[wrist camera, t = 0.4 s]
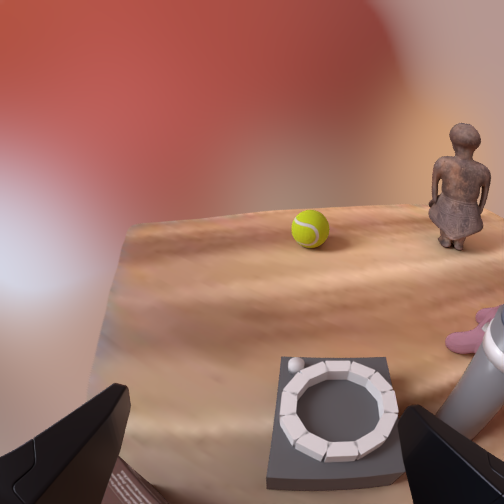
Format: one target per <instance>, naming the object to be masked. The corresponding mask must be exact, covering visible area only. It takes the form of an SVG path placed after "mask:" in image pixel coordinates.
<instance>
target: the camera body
mask: <svg viewBox="0 0 504 504" xmlns="http://www.w3.org/2000/svg"><path fill="white" fill-rule="evenodd" d="M397 423H398V406H397V401H396V396H395V391H393V387H392V383H391V379H390V374H389V369H388V365H387V361H386V357H373V358H305V357H281V365H280V375H279V384H278V393H277V401H276V410H275V418H274V426H273V434H272V441H271V449H270V456H269V463H268V470H267V477H266V482H267V489H276V490H299V491H325V490H347V489H360V488H370V487H379V486H386V485H391V484H392V483H393V482H394V481H395V480H396V479H398V478H399V477H400V476H401V475H402V474H403V473H404V472H406V471H405V467H404V463H403V458H402V452H401V446H400V440H399V435H398V429H397Z"/></svg>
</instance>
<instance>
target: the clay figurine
mask: <svg viewBox="0 0 504 504" xmlns="http://www.w3.org/2000/svg"><path fill="white" fill-rule="evenodd" d="M449 135H450V140H451V142H452V145H453V149H454V151H455V156H454V157H452V156H451V157H450V156H444V157H441V158H439V159H438V160H437V161H436V162H435V164H434V168H433V176H432V198H433V199H432V200H431V201H430V202H429V207H430V209H429V217H430V219H431V220H432V222H433V223H434V224H435V225H436V226H437V227H438V228H440V234H441V236H440V237H439V238H438V240H439V242H440V243H441V245H442V246H444V247H449V246H451V242H452V243H453V244H454V247H455V249H458V250H462V249H463V243H464V241H465V238H466V237H467V236H470V235H472V234H475V233H477V232H479V231H481V230H482V229H483V222H482V219H481V216H480V214H481V213H482V211H483V208H484V205H485V203H486V199H487V196H488V191H489V186H490V181H491V175H490V171H489V170H488V168H487V167H486V166H484V165H483V164H481V163H479V162H476V161H474V160H473V159H472V156H473V152H474V151H475V149H477V148H478V147H479V145H480V143H481V138H480V135H479V133H478V131H477V130H476V129H475V128H474V127H473V126H472V125H470V124H464V123H459V124H456V125H455V126H454V127H453V128H452V129H451V131H450V134H449ZM440 179H442V193H441V194H440V195H438V182H439V180H440ZM481 186H482V193H481V200H480V204H479V206H478V204H477V199H478V197H479V193H480V187H481Z"/></svg>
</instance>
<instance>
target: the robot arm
mask: <svg viewBox="0 0 504 504" xmlns="http://www.w3.org/2000/svg"><path fill="white" fill-rule="evenodd" d="M130 408H131V403H130V396H129V389H128V387H127V386H126V385H122V384H118V383H114V384H112V385H111V386H109V387H108V388H106V389H105V390H103V391H102V392H101V393H99V394H98V395H96V396H95V397H93V398H92V399H90V400H89V401H88V402H86V403H85V404H83V405H82V406H80V407H79V408H77V409H76V410H75V411H73V412H71V413H70V414H69V415H67V416H66V417H64V418H63V419H61V420H60V421H58V422H57V423H55V424H54V425H52V426H51V427H49V428H48V429H46V430H45V431H43V432H42V433H40V434H39V435H37V436H36V437H34V440H33V439H31V440H29V441H28V442H26V443H25V444H23V445H21V446H20V447H18V448H17V449H15V450H13V451H11V452H9V453H7V454H5V455H4V456H1V457H0V504H101V503H102V500H103V497H104V494H105V491H106V488H107V485H108V483H109V480H110V477H111V474H112V472H113V469H114V466H115V464H116V461H117V458H118V456H119V453H120V449H121V445H122V441H123V437H124V433H125V429H126V425H127V421H128V417H129V413H130ZM397 429H398V435H399V440H400V446H401V452H402V458H403V463H404V467H405V471H406V475H407V479H408V483H409V487H410V491H411V495H412V499H413V504H504V462H503V461H502V460H500V459H498V458H497V457H495V456H494V455H492V454H491V453H489V452H487V451H486V450H485V449H483V448H482V447H480V446H479V445H477V444H476V443H474V442H473V441H471V440H470V439H468V438H467V437H465V436H464V435H462V434H461V433H459V432H458V431H456V430H455V429H453V428H452V427H451V426H449V425H448V424H446V423H445V422H443V421H442V420H440V419H439V418H438V417H436V416H435V415H433V414H432V413H430V412H429V411H427V410H426V409H425V408H423V407H422V406H420V405H410V406H408V407H407V408H406V410H405V411H404V413H403V414H402V416H401V417H400V419H399V420H398V423H397Z"/></svg>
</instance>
